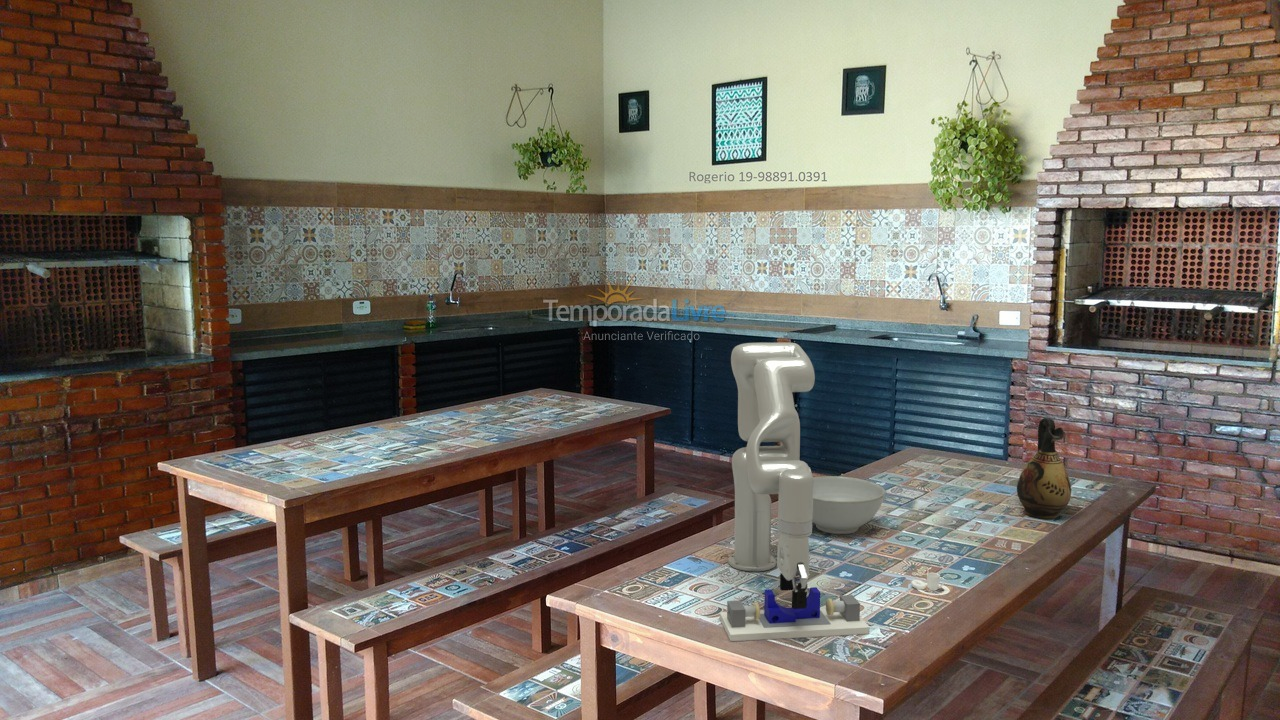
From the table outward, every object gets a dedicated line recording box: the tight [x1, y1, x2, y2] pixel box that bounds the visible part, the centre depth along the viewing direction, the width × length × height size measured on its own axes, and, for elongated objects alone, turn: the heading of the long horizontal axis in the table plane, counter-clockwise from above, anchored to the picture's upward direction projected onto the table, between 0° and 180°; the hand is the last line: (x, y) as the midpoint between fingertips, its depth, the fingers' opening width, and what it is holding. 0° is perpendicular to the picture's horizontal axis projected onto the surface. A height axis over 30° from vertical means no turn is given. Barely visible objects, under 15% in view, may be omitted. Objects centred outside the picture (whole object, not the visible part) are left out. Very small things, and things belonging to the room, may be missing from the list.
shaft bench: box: [719, 594, 870, 642], centre depth 208 cm, size 12×31×6 cm, turn 97°
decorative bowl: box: [812, 475, 886, 535], centre depth 275 cm, size 27×27×12 cm
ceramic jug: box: [1016, 417, 1072, 520], centre depth 287 cm, size 17×15×30 cm
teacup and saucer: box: [910, 572, 951, 596], centre depth 230 cm, size 9×8×4 cm
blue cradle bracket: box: [763, 586, 821, 623], centre depth 208 cm, size 12×4×6 cm, turn 97°
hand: (792, 598), depth 208 cm, fingers open, 9 cm apart
